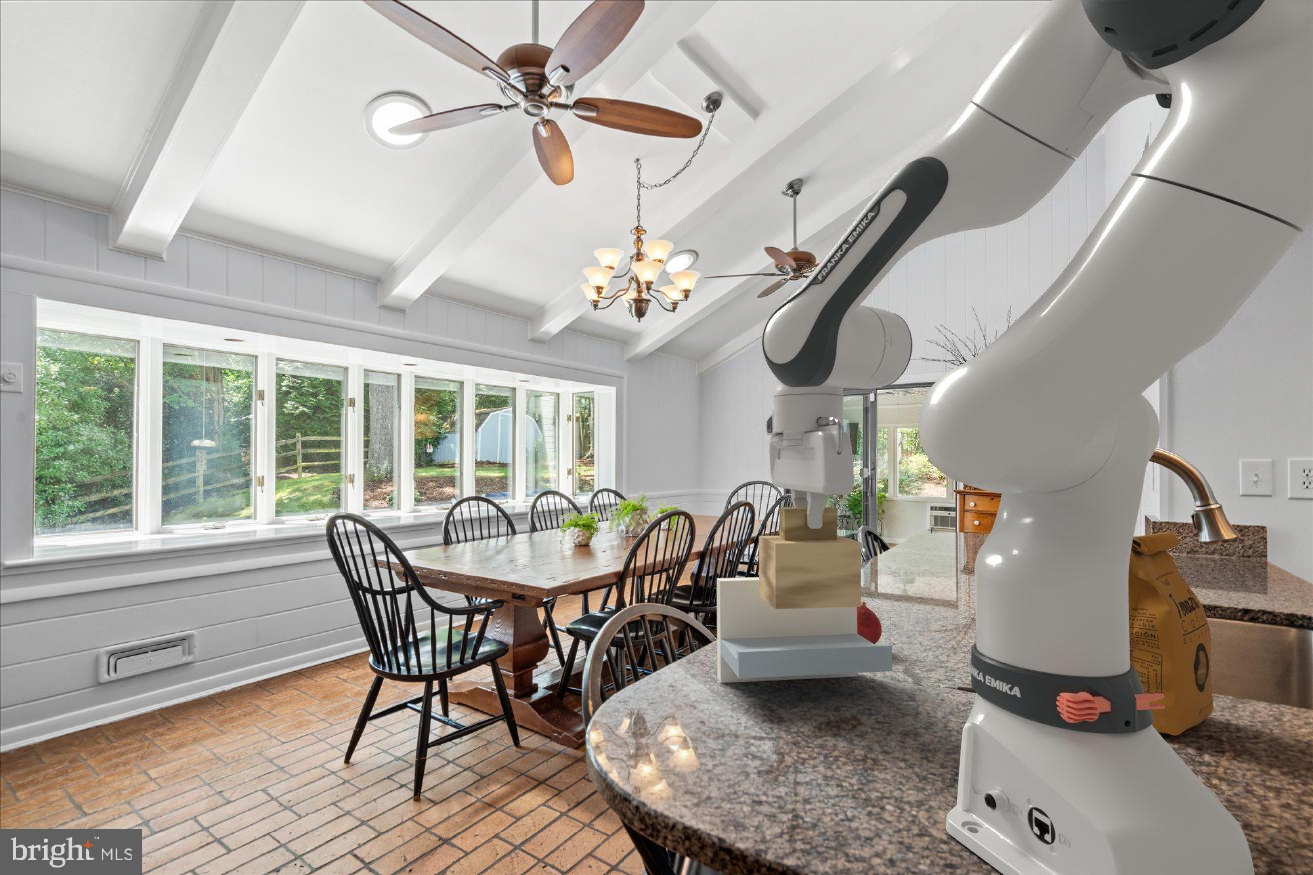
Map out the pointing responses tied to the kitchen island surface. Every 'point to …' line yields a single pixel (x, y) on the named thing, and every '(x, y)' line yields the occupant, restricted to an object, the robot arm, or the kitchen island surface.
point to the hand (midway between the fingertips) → (808, 526)
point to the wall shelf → (788, 639)
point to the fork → (925, 682)
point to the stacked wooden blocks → (809, 564)
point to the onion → (868, 624)
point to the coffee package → (1168, 636)
